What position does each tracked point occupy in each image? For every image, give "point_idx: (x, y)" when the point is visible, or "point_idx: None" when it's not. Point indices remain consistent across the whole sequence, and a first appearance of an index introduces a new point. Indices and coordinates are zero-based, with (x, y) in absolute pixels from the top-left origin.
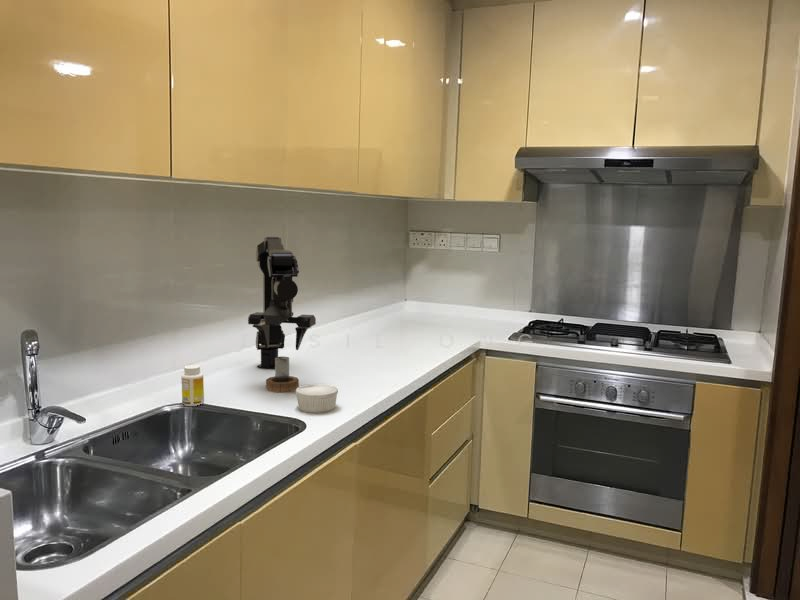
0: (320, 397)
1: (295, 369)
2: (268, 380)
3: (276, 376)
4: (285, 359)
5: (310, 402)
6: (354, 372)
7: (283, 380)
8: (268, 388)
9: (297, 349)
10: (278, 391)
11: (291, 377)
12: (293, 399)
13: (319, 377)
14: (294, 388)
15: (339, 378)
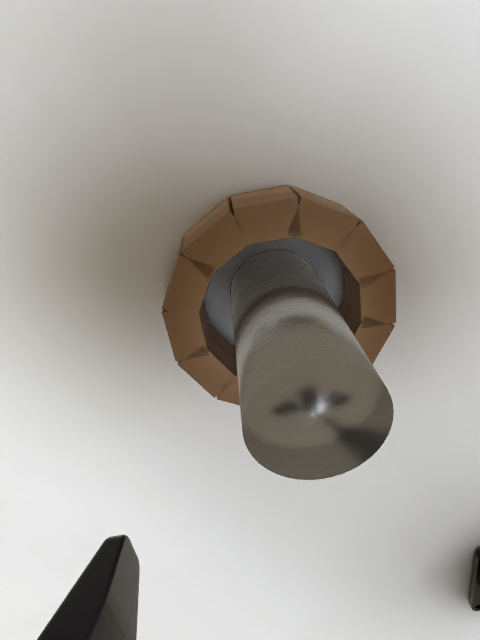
0: None
1: (378, 576)
2: (366, 255)
3: (312, 285)
4: (252, 395)
5: None
6: None
7: (250, 285)
8: (332, 202)
9: (105, 545)
10: (243, 193)
11: None
12: (32, 67)
13: (200, 527)
14: (169, 281)
15: None
